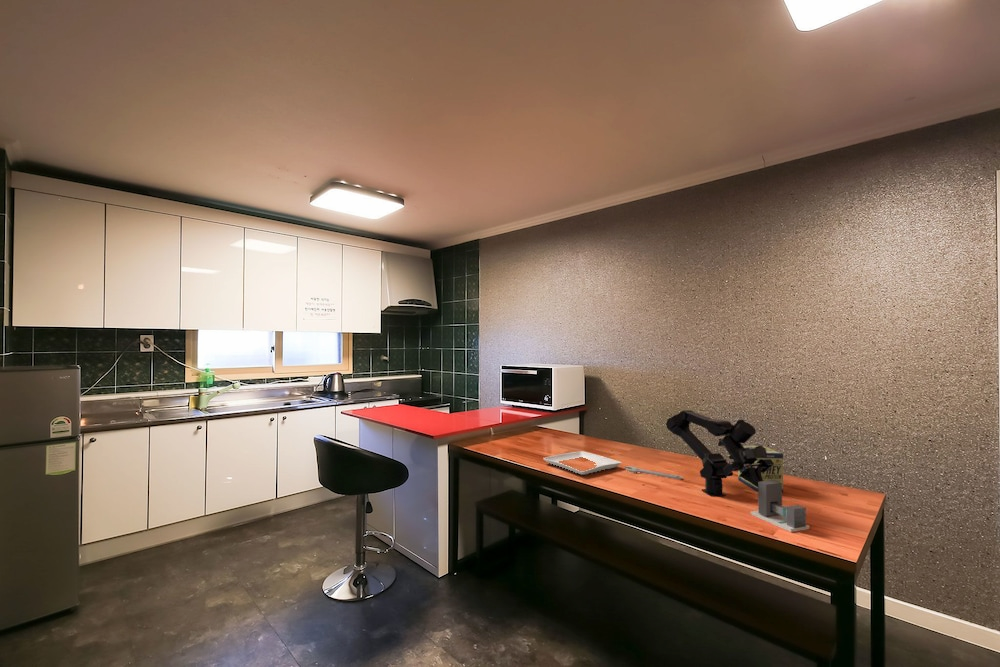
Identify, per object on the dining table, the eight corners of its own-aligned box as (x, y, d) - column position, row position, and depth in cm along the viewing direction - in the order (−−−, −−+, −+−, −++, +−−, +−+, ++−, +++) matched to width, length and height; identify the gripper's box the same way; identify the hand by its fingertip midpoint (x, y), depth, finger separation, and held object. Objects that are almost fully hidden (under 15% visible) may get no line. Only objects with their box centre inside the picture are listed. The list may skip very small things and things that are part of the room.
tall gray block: (758, 513, 143) (758, 481, 143) (773, 510, 145) (773, 480, 146) (766, 516, 140) (766, 484, 141) (782, 514, 142) (781, 482, 143)
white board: (750, 514, 145) (750, 511, 145) (768, 511, 148) (768, 508, 148) (790, 532, 132) (790, 528, 132) (809, 529, 134) (809, 525, 134)
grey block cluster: (755, 511, 145) (755, 494, 146) (766, 509, 147) (766, 492, 147) (794, 528, 132) (794, 509, 132) (805, 526, 134) (805, 507, 134)
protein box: (757, 492, 168) (757, 453, 168) (737, 479, 183) (737, 444, 184) (784, 492, 167) (783, 453, 168) (761, 480, 183) (761, 444, 183)
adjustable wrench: (682, 479, 184) (682, 475, 184) (678, 483, 179) (678, 479, 179) (627, 468, 200) (627, 465, 200) (622, 472, 195) (622, 468, 195)
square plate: (622, 469, 199) (622, 461, 199) (582, 479, 183) (582, 470, 183) (581, 456, 221) (581, 449, 221) (542, 464, 205) (542, 456, 205)
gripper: (729, 439, 148) (757, 480, 137) (768, 436, 154) (798, 475, 143) (712, 456, 155) (737, 496, 145) (750, 452, 161) (777, 491, 150)
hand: (763, 489), depth 145 cm, fingers closed
